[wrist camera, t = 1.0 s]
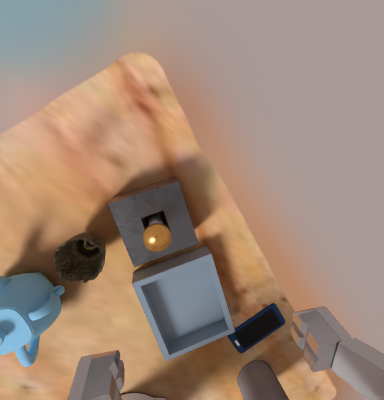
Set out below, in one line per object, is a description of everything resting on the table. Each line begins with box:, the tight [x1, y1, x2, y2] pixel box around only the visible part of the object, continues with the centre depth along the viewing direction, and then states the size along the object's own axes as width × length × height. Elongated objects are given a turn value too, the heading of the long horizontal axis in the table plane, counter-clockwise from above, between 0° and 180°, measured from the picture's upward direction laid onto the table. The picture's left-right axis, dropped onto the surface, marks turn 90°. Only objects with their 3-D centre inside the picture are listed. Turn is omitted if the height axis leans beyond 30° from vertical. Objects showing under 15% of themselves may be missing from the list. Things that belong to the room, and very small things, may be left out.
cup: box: [53, 233, 106, 283], centre depth 38 cm, size 8×7×8 cm
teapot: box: [0, 272, 65, 367], centre depth 37 cm, size 13×14×11 cm
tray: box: [132, 246, 235, 361], centre depth 47 cm, size 20×16×4 cm
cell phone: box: [228, 303, 285, 353], centre depth 54 cm, size 7×14×1 cm, turn 121°
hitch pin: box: [143, 212, 171, 252], centre depth 38 cm, size 4×4×12 cm
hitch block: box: [108, 177, 198, 267], centre depth 40 cm, size 12×12×6 cm
